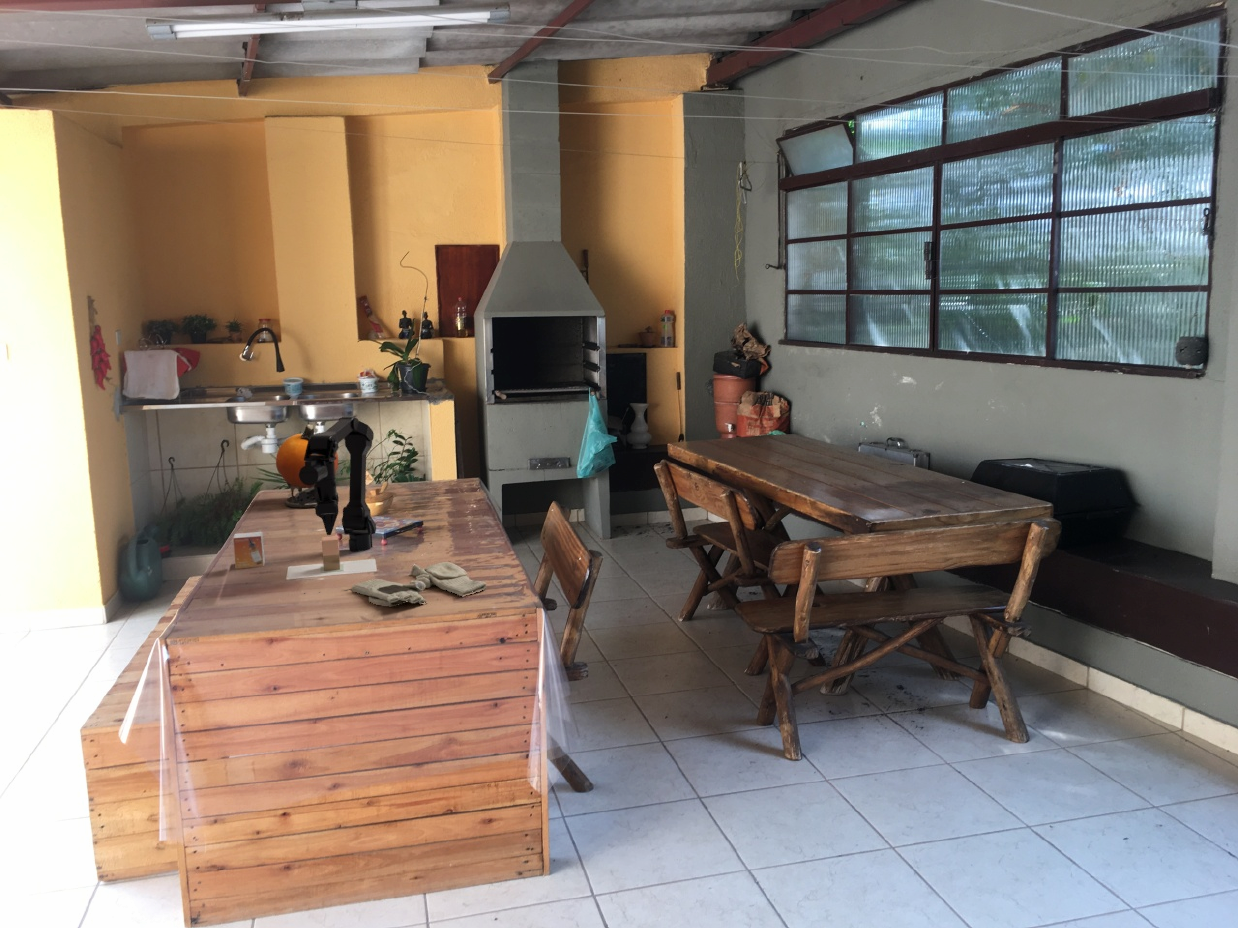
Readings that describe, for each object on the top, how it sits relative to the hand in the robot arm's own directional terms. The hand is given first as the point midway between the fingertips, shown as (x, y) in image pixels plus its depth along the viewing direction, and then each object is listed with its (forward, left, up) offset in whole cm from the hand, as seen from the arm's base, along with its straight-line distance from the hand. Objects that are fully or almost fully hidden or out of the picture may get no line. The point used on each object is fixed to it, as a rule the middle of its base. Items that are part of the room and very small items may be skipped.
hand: (329, 531), depth 297 cm
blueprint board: (0, 0, -13) cm, 13 cm away
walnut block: (0, 0, -11) cm, 11 cm away
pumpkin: (-53, -81, -13) cm, 98 cm away
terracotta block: (0, 0, -7) cm, 7 cm away
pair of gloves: (-3, +34, -13) cm, 37 cm away
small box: (+11, -24, -13) cm, 29 cm away
